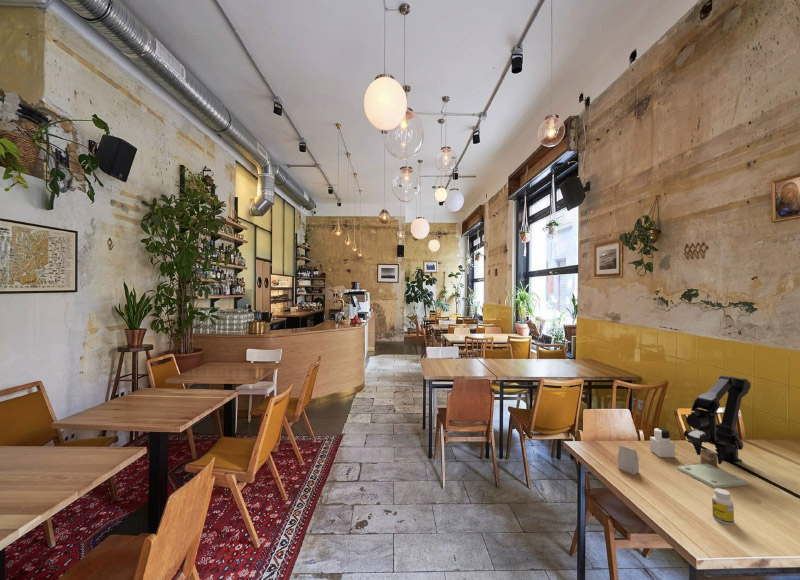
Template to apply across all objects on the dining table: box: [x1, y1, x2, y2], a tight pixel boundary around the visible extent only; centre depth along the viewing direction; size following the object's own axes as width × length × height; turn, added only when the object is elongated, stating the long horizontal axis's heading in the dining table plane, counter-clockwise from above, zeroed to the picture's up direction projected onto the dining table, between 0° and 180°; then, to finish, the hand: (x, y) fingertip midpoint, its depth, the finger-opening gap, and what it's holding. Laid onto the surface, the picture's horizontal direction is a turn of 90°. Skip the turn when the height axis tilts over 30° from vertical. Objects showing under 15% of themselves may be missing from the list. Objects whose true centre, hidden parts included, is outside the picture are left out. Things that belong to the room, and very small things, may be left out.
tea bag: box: [617, 444, 640, 476], centre depth 154 cm, size 4×7×10 cm, turn 29°
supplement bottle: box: [711, 488, 735, 525], centre depth 119 cm, size 5×5×10 cm
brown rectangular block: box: [700, 448, 718, 468], centre depth 158 cm, size 4×4×6 cm
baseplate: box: [676, 463, 749, 489], centre depth 148 cm, size 16×16×2 cm
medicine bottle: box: [649, 427, 676, 458], centre depth 170 cm, size 7×7×12 cm
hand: (708, 459), depth 158 cm, fingers open, 9 cm apart
